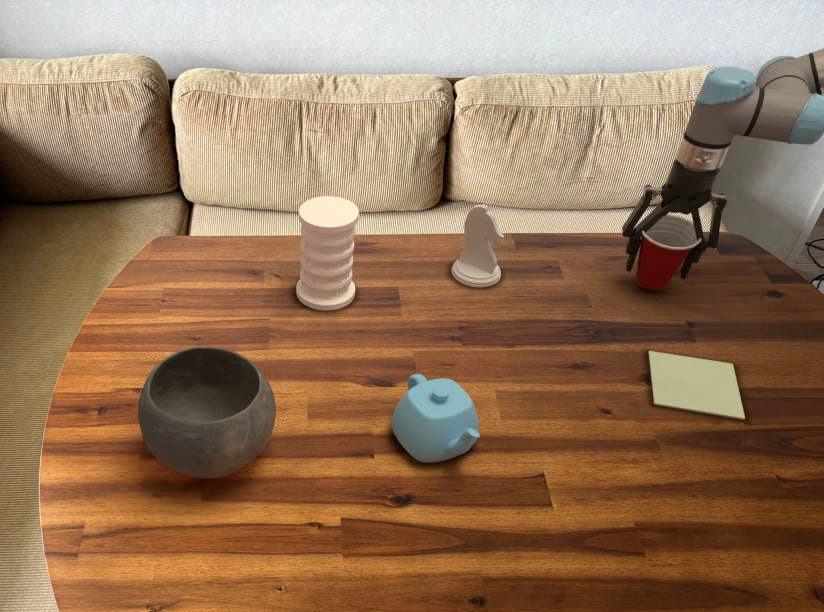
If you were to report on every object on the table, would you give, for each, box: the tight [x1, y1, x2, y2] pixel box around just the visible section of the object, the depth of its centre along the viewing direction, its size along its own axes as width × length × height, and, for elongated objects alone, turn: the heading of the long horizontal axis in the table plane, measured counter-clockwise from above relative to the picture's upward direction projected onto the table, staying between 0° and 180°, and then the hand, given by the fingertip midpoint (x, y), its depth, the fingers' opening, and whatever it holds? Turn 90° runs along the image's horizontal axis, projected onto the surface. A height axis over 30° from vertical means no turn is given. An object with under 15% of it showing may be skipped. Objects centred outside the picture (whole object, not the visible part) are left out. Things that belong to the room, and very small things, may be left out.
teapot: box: [390, 373, 481, 463], centre depth 119 cm, size 13×11×18 cm
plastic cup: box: [635, 213, 701, 291], centre depth 147 cm, size 11×11×12 cm
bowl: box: [137, 345, 277, 479], centre depth 116 cm, size 20×20×15 cm
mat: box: [647, 350, 746, 421], centre depth 132 cm, size 14×14×1 cm
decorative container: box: [295, 195, 360, 311], centre depth 145 cm, size 12×12×18 cm
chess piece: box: [450, 203, 505, 289], centre depth 151 cm, size 10×10×15 cm
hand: (655, 271), depth 149 cm, fingers closed on plastic cup, 9 cm apart
